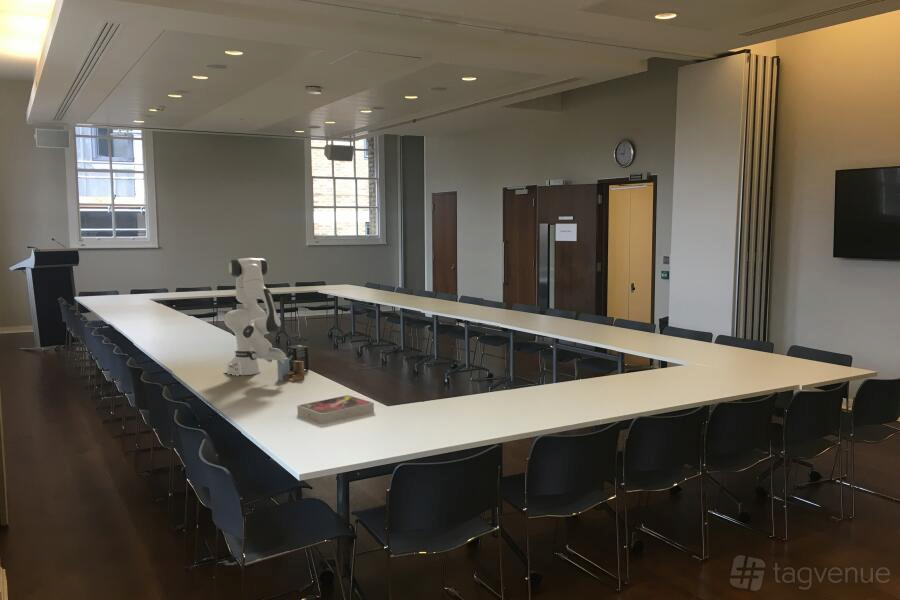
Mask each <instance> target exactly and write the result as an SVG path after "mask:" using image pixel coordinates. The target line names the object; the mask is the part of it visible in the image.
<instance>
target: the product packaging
mask: <svg viewBox="0 0 900 600" xmlns="http://www.w3.org/2000/svg"><path fill="white" fill-rule="evenodd" d="M296 406H297V407H296V408H297V415H298V416H299V415H300V417H302V416H303V417H302V418H305V419H307V418H308V420H310V421H313V422H316V423H318V424H321V425H324V424H328V423H332V422H337V421H341V420H346V419H349V418H354V417H358V416H362V415H363V416H364V415H367V414H371V413H374V412H375V410H374V409H375V405H374V402H372V401H370V400H365V399H363V398H359V397H357V396H353V395H350V394H346V395H341V396H336V397H332V398H327V399H326V398H325V399H323V400H318V401H317V400H316V401H312V402H307V403H303V404H298V405H296Z"/></svg>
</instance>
